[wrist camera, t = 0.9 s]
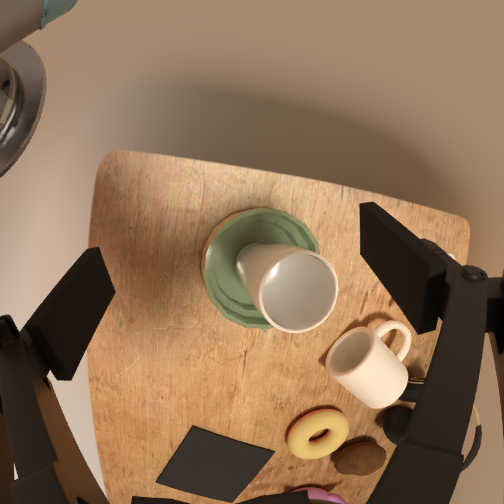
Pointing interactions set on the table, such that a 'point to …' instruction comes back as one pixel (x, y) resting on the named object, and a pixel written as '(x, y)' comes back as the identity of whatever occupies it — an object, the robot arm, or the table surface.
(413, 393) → the headphones
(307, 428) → the donut
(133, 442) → the table surface
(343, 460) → the potato
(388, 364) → the mug
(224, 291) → the bowl
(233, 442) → the mat
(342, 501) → the teapot
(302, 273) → the drinking glass
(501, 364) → the robot arm
